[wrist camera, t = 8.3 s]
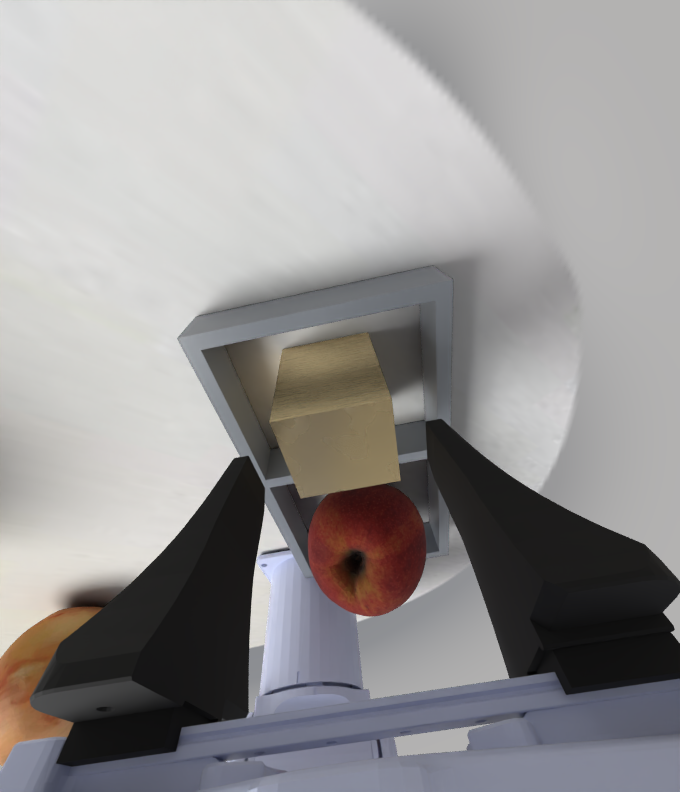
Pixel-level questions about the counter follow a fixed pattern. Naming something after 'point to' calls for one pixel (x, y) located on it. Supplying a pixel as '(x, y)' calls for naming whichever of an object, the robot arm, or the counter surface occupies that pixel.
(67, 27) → the counter surface
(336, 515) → the apple
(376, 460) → the wooden block
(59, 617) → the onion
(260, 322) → the grey divided tray
